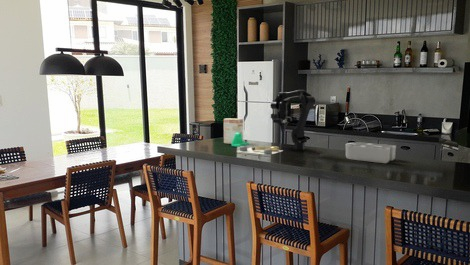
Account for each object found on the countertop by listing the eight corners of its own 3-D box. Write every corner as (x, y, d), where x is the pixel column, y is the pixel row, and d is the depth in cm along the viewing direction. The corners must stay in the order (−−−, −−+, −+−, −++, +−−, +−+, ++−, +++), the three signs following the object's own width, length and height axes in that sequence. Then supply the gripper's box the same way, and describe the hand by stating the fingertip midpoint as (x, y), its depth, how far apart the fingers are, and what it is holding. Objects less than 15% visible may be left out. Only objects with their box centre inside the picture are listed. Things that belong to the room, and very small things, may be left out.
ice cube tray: (386, 164, 234) (386, 149, 233) (340, 158, 252) (341, 144, 251) (395, 159, 247) (396, 145, 246) (351, 154, 265) (352, 141, 264)
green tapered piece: (239, 148, 295) (238, 134, 294) (231, 147, 300) (231, 133, 299) (249, 146, 304) (249, 132, 303) (241, 145, 309) (241, 131, 308)
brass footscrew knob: (277, 149, 276) (277, 145, 275) (279, 151, 270) (279, 146, 269) (251, 150, 273) (250, 146, 273) (252, 151, 267) (252, 147, 267)
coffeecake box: (243, 143, 315) (243, 118, 312) (237, 145, 310) (237, 119, 307) (229, 142, 325) (229, 117, 323) (223, 143, 320) (223, 118, 317)
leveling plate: (283, 152, 273) (283, 146, 272) (269, 157, 257) (269, 150, 257) (250, 149, 287) (250, 143, 287) (235, 153, 272) (235, 147, 271)
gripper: (278, 108, 300) (278, 129, 302) (266, 110, 285) (266, 132, 286) (292, 109, 294) (292, 130, 296) (280, 110, 278) (280, 133, 280)
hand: (282, 131), depth 290 cm, fingers closed
